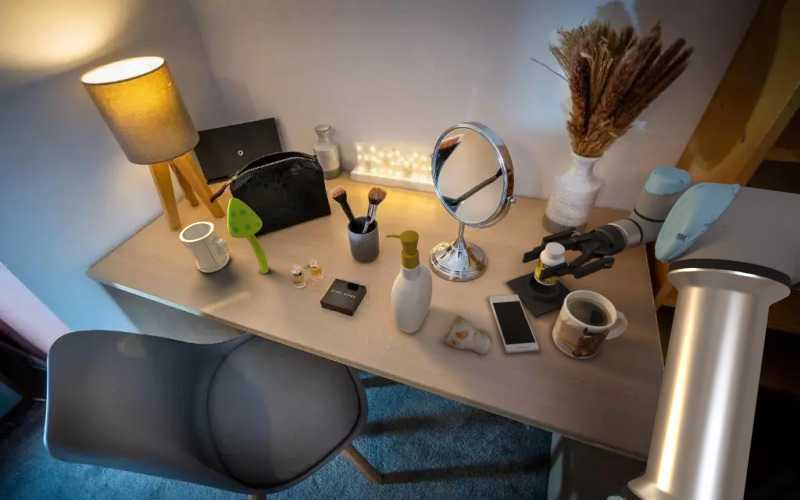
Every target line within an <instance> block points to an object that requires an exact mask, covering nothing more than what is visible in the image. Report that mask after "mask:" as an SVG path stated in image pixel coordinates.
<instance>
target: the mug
mask: <svg viewBox="0 0 800 500" xmlns="http://www.w3.org/2000/svg"><path fill="white" fill-rule="evenodd" d="M559 310H560V311H559V313H558V316H557V318H556V320H555V323H554V326H553V328H552V332H551V335H552V339H553V342H554V344H555V346H557V348H558V349H559V350H560V351H561V352H563V353H564V354H566V355H568V356H570V357H573V358H576V359H589V358H593V357H594V356H596V355H597V354H598V352H599V351H600V350H601V347H602V346H603V344H604V343H605V341H606V340H612V339H615V338H616V337H619V336H621V335H622V334H623V333H624V332H626V330H627V329H628V325H629V322H628V319H627V317H626V315H625V314H624V312H622V311H619V310H617V309H616V307H615V305H614V304H613V302H611V300H609V299H608V298H607V297H606V296H604V295H602V294H600V293H598V292H596V291H593V290H585V289H578V290H573V291H572V292H571V293H570V294H569V295H567V297H566V298H565V301H564V303H563V306H562V308H561V309H559ZM618 319H619V320H621V323H620V324H619V325H618V326H617V327H615V328H613V327H614V325H615V324H616V322H617V321H618Z"/></svg>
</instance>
